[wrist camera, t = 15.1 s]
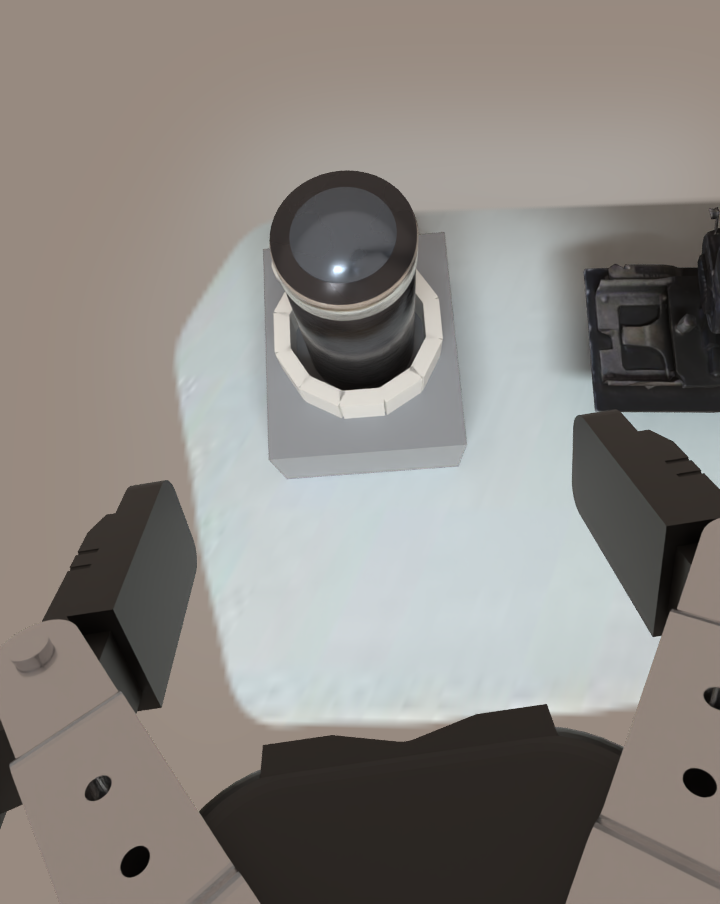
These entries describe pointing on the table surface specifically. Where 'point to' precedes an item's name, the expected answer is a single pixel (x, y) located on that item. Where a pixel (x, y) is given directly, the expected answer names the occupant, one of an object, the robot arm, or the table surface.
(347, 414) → the grey base with ring
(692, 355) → the vintage camera
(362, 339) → the lens
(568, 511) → the table surface
